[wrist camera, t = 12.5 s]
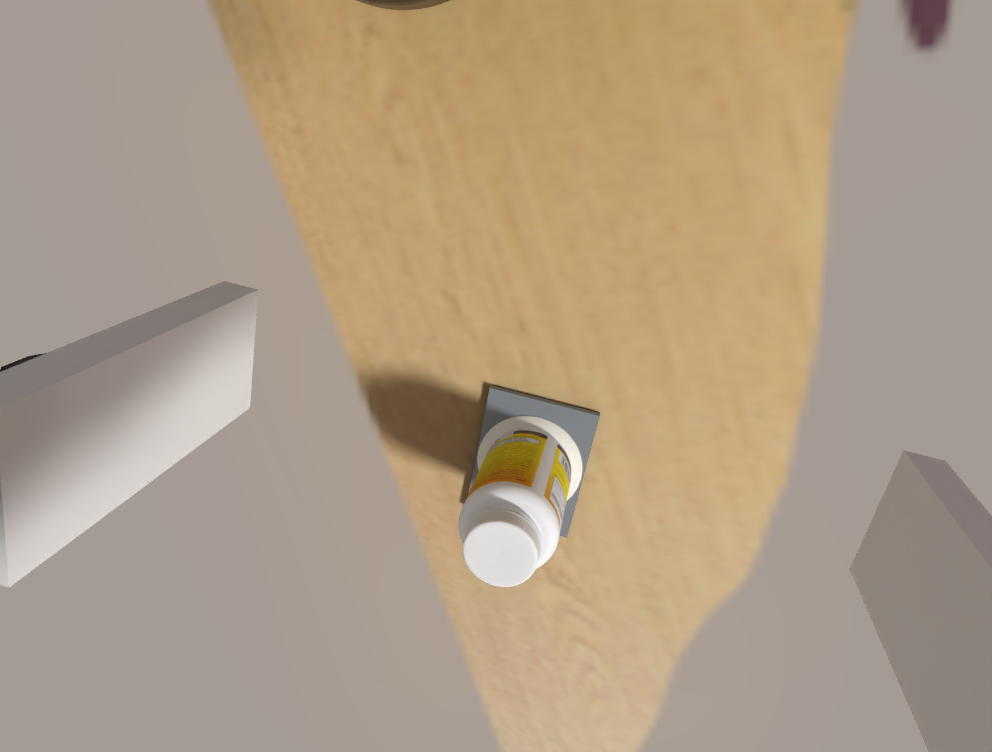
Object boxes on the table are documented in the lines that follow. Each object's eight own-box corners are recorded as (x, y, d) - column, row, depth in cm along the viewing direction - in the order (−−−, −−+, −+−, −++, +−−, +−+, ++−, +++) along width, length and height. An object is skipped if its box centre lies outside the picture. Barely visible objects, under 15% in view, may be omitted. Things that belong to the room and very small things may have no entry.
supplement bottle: (469, 464, 48) (425, 552, 38) (525, 407, 45) (492, 486, 36) (534, 519, 48) (505, 619, 39) (591, 465, 46) (576, 558, 36)
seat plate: (491, 385, 46) (489, 388, 45) (600, 412, 45) (599, 416, 45) (466, 505, 49) (464, 510, 49) (567, 533, 49) (566, 538, 48)
